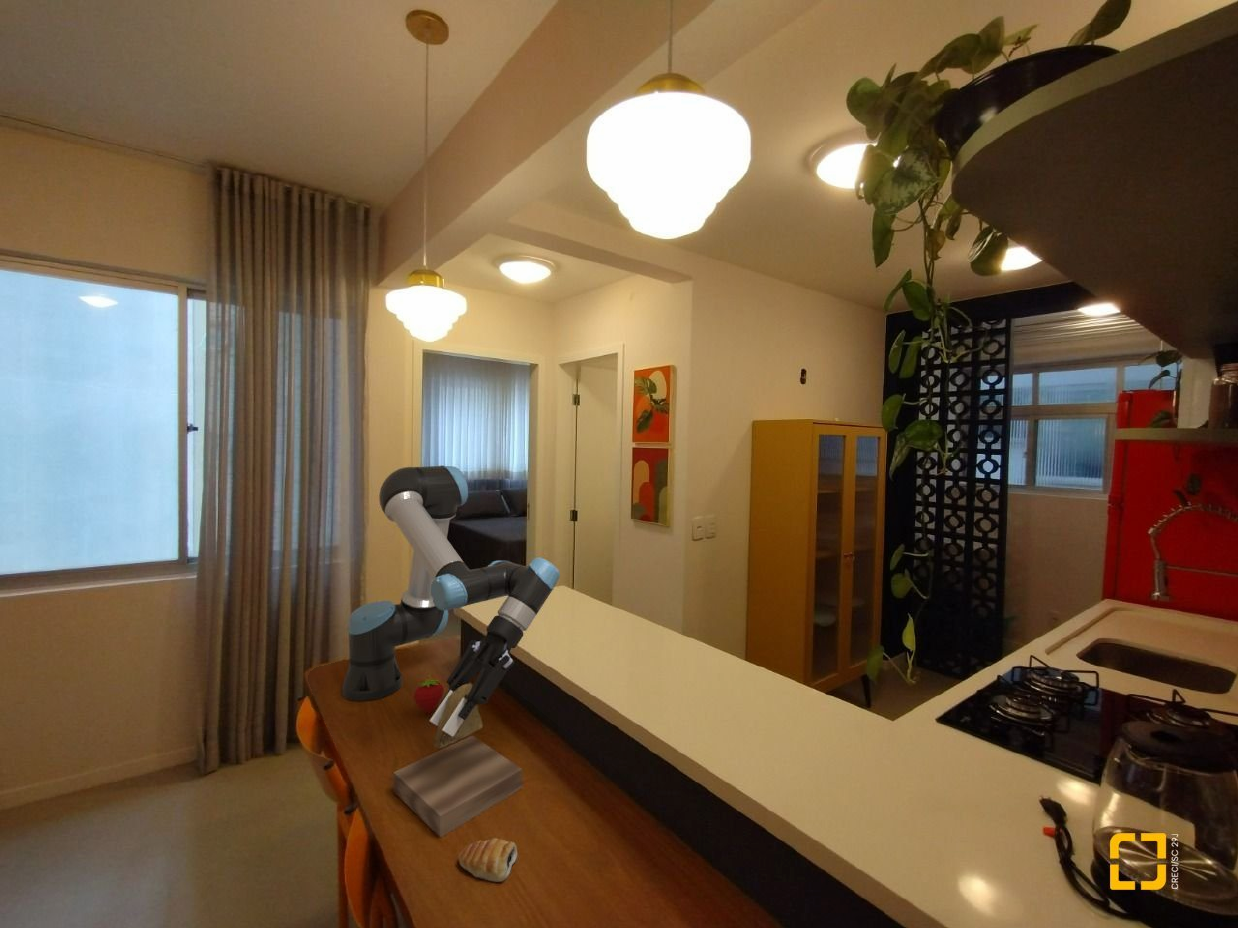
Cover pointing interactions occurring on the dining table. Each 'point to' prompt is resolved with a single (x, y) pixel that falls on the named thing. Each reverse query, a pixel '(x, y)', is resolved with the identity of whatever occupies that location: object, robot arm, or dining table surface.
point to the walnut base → (457, 784)
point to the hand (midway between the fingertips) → (441, 728)
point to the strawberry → (428, 695)
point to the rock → (467, 725)
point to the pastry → (489, 859)
